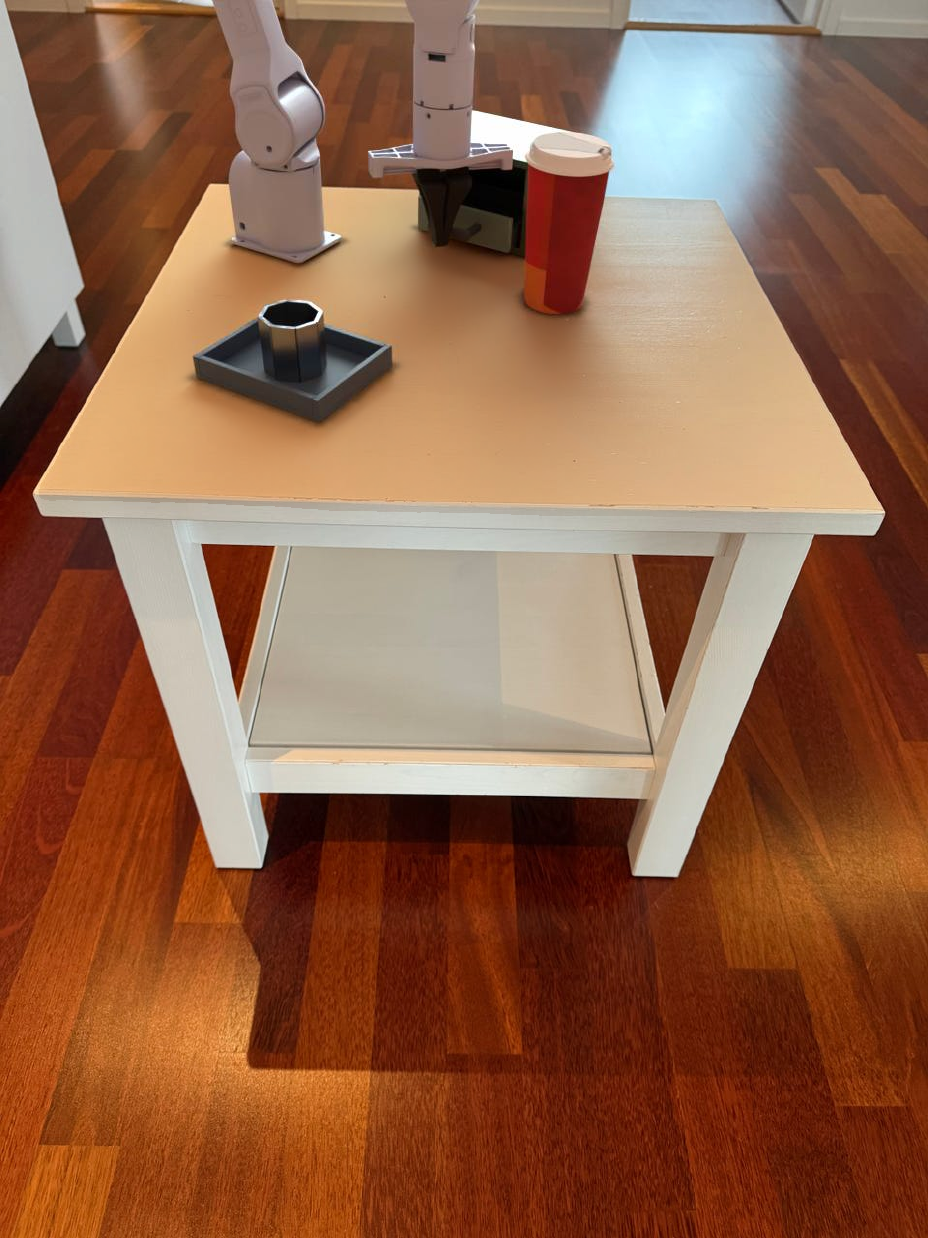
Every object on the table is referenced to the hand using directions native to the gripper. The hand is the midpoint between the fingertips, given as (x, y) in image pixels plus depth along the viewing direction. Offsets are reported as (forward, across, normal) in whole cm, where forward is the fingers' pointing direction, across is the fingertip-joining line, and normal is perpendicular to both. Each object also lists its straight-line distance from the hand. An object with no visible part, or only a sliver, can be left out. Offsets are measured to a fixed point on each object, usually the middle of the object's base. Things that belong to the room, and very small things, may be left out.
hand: (439, 242), depth 97 cm
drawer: (+1, -6, -6) cm, 9 cm away
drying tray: (+2, +19, +19) cm, 27 cm away
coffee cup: (+3, -9, +11) cm, 14 cm away
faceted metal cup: (+2, +19, +19) cm, 27 cm away
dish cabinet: (+2, -10, -9) cm, 14 cm away
